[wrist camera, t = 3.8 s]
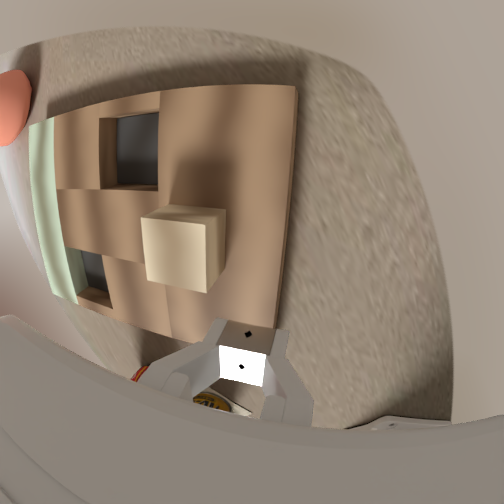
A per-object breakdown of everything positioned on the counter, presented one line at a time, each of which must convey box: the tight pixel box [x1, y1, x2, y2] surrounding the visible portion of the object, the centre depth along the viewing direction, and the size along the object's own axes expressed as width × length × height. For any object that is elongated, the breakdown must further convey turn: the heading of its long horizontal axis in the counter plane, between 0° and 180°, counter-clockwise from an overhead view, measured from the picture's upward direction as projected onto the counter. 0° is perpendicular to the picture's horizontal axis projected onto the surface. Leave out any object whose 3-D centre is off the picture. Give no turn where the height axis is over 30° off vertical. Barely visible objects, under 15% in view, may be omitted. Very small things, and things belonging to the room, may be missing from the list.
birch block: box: [141, 204, 226, 293], centre depth 20 cm, size 5×5×4 cm
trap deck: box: [29, 84, 299, 344], centre depth 25 cm, size 32×24×3 cm
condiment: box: [193, 387, 252, 416], centre depth 30 cm, size 7×8×12 cm
